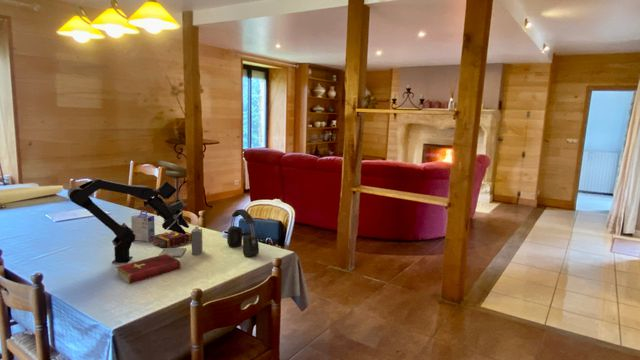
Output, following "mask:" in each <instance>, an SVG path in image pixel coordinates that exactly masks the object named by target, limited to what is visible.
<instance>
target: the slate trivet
mask: <svg viewBox="0 0 640 360" xmlns="http://www.w3.org/2000/svg"><path fill="white" fill-rule="evenodd" d="M186 251H187V247H169V248H164V247H163V249H162V250H161V251H160V253H158V255H157V256H159V255H163V254H168V255H170V256H172V257H174V258H182V257H183V256H184V254H185V252H186Z"/></svg>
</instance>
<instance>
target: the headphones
mask: <svg viewBox="0 0 640 360" xmlns="http://www.w3.org/2000/svg"><path fill="white" fill-rule="evenodd" d="M239 216H241V217H242V218H243V219H244V220H245V223H246V224H247V225H249V227H250V230H251V231H250V232H251V234H248V235H247V234H246V235H244V236H243V229H242V227H240V226H236V225H235V220H236V218H237V217H239ZM231 217H232V218H231V222H230V224H231V225H230V226H229V228H228V229H227V236H226V237H227V238H226V240H227V241H226V242H227V245H228V247H230V248H237V247H241V246H242V254H243V256H244V257H248V258H249V257H254V256H257V255H259V253H260V247H259V246H260V245H259V238H258V236H257V235H256V234H255V228H254V225H253V223H254V219H253V217H252V216H251V214H250V213H249V212H248V211H247V210H246V209H243V208H241V209H235V210H234V212H233V213H231Z"/></svg>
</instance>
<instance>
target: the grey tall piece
mask: <svg viewBox="0 0 640 360" xmlns="http://www.w3.org/2000/svg"><path fill="white" fill-rule="evenodd" d="M190 233H191V238H192V241H191V255H192V256H200V255H202V253H203V252H204V251H203V228H199V225H195V226H194V228H193V229H192V230H191V232H190Z"/></svg>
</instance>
